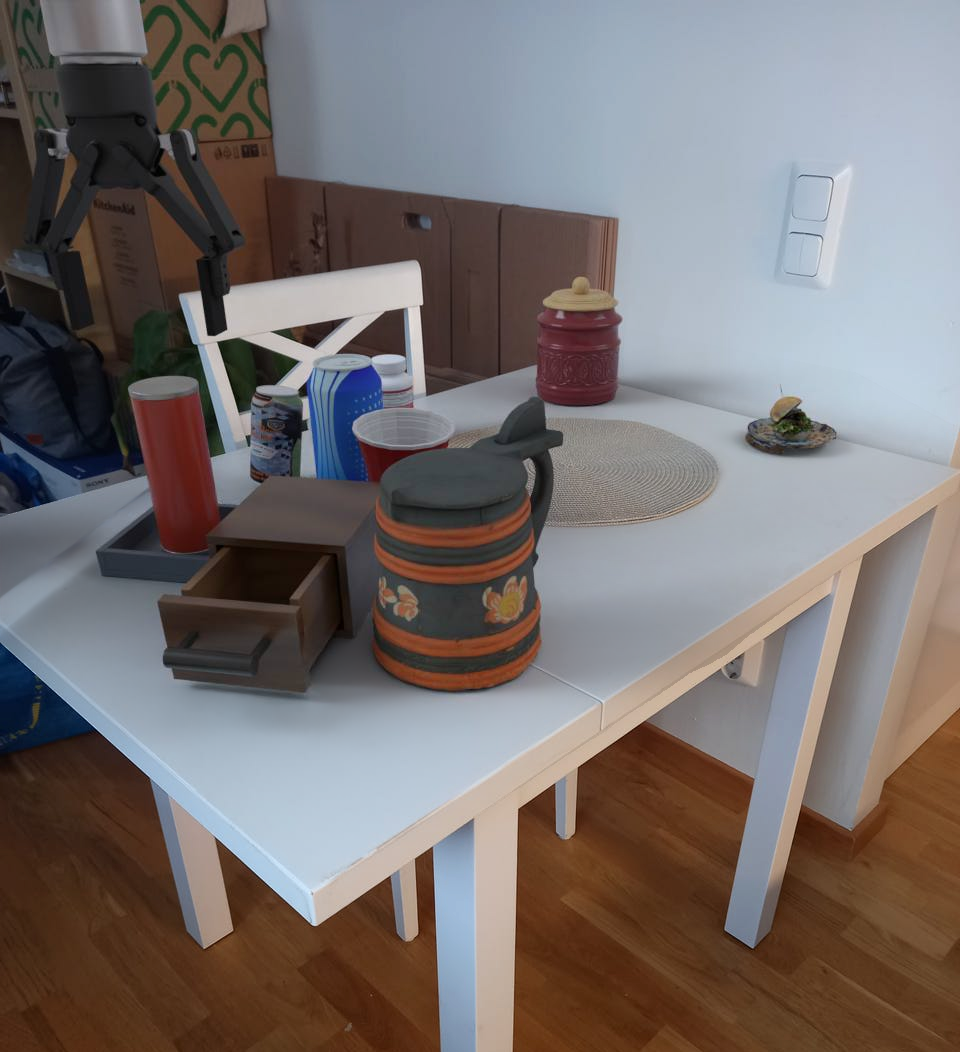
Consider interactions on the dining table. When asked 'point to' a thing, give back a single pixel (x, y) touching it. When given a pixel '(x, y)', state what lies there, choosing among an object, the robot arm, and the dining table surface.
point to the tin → (176, 461)
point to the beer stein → (463, 557)
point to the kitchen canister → (578, 346)
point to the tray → (149, 553)
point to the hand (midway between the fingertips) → (149, 330)
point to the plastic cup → (399, 436)
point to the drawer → (253, 618)
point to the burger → (788, 429)
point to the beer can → (341, 413)
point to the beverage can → (275, 432)
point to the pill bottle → (394, 381)
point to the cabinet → (313, 532)
